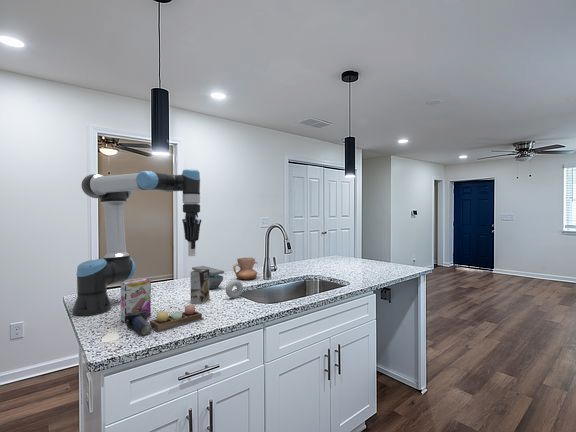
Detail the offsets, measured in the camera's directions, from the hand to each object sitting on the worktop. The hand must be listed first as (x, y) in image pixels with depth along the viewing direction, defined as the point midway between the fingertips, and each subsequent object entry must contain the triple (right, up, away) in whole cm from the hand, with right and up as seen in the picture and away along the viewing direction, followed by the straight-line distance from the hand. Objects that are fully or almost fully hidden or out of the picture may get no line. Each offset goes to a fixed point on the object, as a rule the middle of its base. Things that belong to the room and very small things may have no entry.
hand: (191, 255), depth 141 cm
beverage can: (-14, -27, -19) cm, 36 cm away
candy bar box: (-22, -27, -6) cm, 35 cm away
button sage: (-3, -25, -11) cm, 28 cm away
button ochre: (-7, -24, -16) cm, 29 cm away
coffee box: (-2, -26, +20) cm, 33 cm away
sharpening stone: (-6, -26, +52) cm, 58 cm away
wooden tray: (-3, -27, -11) cm, 29 cm away
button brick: (+1, -24, -7) cm, 25 cm away
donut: (+15, -26, +26) cm, 40 cm away
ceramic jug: (+14, -26, +74) cm, 79 cm away
